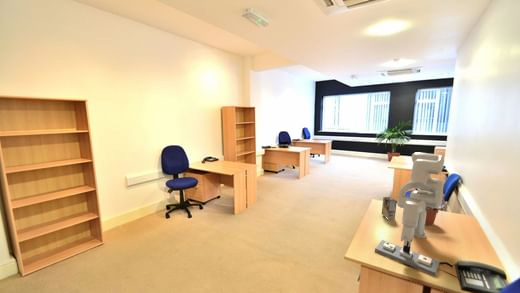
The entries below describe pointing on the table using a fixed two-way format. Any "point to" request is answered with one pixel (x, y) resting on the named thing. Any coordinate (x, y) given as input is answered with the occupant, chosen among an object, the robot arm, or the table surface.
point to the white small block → (406, 253)
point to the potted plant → (430, 213)
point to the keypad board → (409, 261)
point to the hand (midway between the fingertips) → (406, 251)
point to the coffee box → (389, 207)
